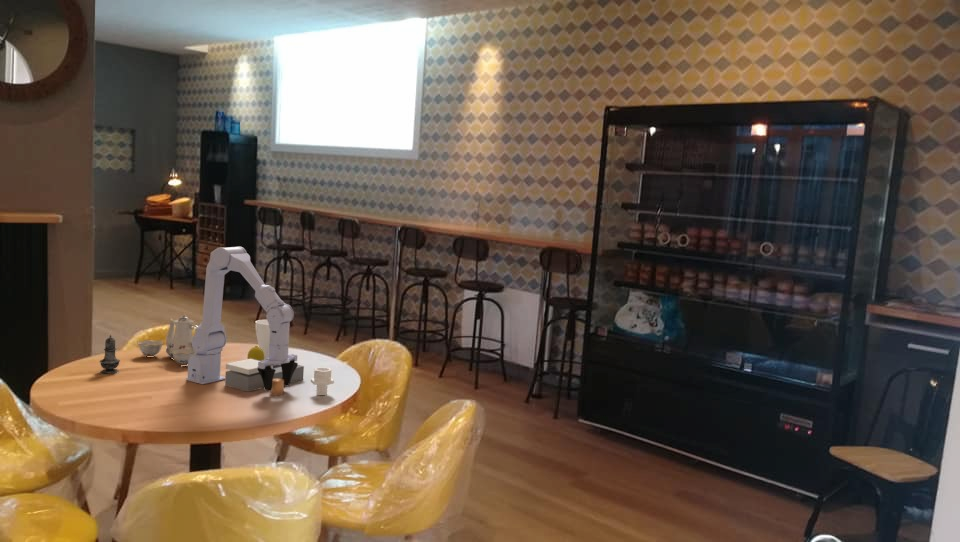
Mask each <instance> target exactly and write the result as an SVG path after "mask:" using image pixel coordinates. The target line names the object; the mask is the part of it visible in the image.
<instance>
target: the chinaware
mask: <svg viewBox="0 0 960 542" xmlns="http://www.w3.org/2000/svg"><path fill="white" fill-rule="evenodd" d="M168 321H169V328H168V330H167V333H166V335H165V336H166V337H165V342H163V340H152V339H146V340H145V339H144V340H143V341H137V343H136V344H137V345H138V347H139V350H140V352H141V354H142V355H144V356H145V357H146V356H156V355H158V354H159V353H160V352H161V350H162V347H163V345H166V350H165V352H166V354H167V355H168V356H169V358H170V357H171V358H173V359H174V360H173V361H175V362H176V363H177V364H178V365H187V364H188V360H189V358H190V357H191V356H192V355H195V354H196V353H195V350H194V349H193V347H192V338H193V336H194V334H193V330H195V329H196V328H197V327H198V326H199V325H196V324H194V321H195V320H193V319H190V318H189V317H188V316H187V314H186V313H185V312H183V313H182V315H181V316H180V317H179V318H178V319H176V320H174V319H173V318H168Z"/></svg>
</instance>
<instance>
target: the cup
mask: <svg viewBox="0 0 960 542" xmlns="http://www.w3.org/2000/svg"><path fill="white" fill-rule="evenodd" d="M254 327H255V334H256V338H257V343H258V344H257V345H258V347H260V348H261V349H262V350H263V352H264V360H265V359H267V358H269V341H270V328H269V323H268V321H267V318H266V319H258V320H255V326H254Z"/></svg>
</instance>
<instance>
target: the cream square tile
mask: <svg viewBox="0 0 960 542" xmlns="http://www.w3.org/2000/svg"><path fill="white" fill-rule="evenodd" d="M258 362H259V361H258V360H254V359H247V358H246V359H243V360H237V361H233V362H228V363H226V364H225V369H226V370H227V371H229V370H232V371H236V372H240V373H244V374H248V375H250V374H254V373H258V372H259V371H258ZM271 368H272V369H273V366H271Z"/></svg>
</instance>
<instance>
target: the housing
mask: <svg viewBox="0 0 960 542" xmlns="http://www.w3.org/2000/svg"><path fill="white" fill-rule="evenodd" d="M304 368H305V366H304V365H301V364H298V366H297V368H296V369H295V371H294V373H293V375H292V378H291V381H290V382H291V383H294V382H299V381H302V379H303V380H304V372H305V371H304ZM273 369H275V370H276V371H275V373H274V376H273V379H282V368H281V364H279V365H275V366H273ZM224 377H225V379H224V383H225V384H224V385H225V386H226V385H227V387H229V386H231V387H230V388H233V387H234V389H237V390H240V389H241V391H244V392H251V390H252V391H256V390H260V389H262V388H263V389H264V384H263V380H262V377H261V375H260V373H259V372H258V373H254V374H250V375H248V374H244V373H240V372H236V371H232V370H226V371H225V376H224ZM298 380H299V381H298ZM259 388H260V389H259ZM255 389H256V390H255Z"/></svg>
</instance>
